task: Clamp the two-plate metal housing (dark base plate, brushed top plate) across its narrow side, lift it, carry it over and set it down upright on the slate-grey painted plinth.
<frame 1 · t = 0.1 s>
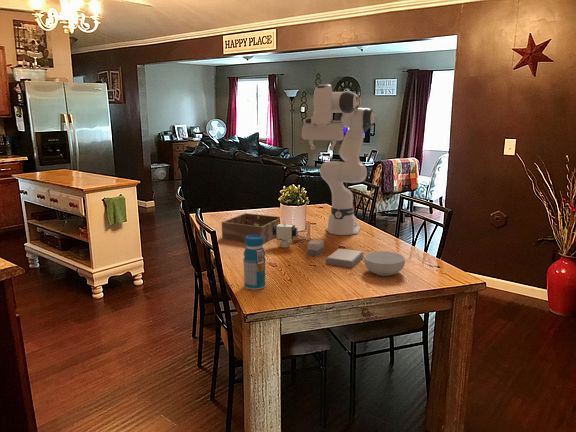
hand: (322, 149, 224), 48 cm above the table, fingers open, 8 cm apart
housing: (315, 253, 224), on the table
pneumatic valve: (285, 246, 236), on the table
plinth: (344, 260, 214), on the table
beverage bottle: (254, 286, 184), on the table
plant: (254, 237, 255), resting in planter crate
cereal bowl: (383, 273, 199), on the table
planter crate: (253, 235, 255), on the table
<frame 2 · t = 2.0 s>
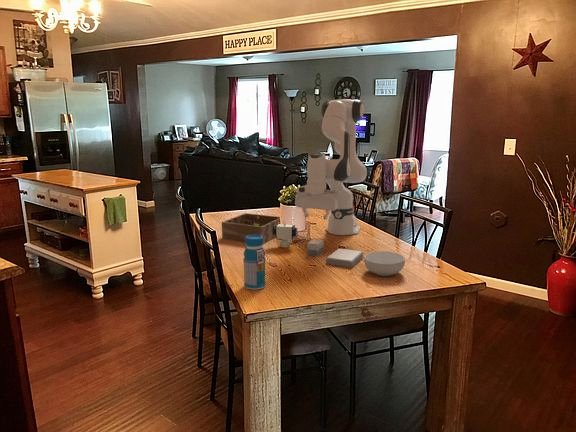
hand: (315, 218, 220), 17 cm above the table, fingers open, 8 cm apart
nothing on the table moved.
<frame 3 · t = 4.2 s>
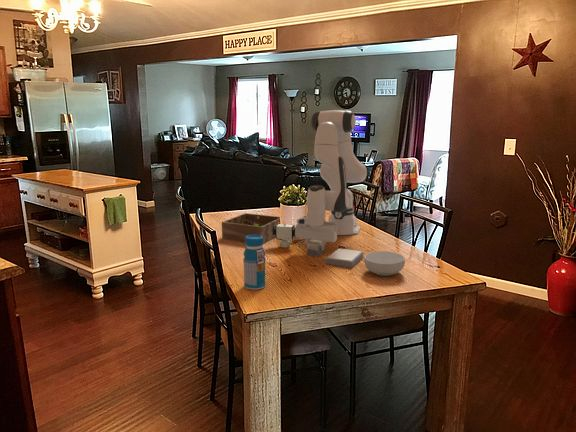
hand: (315, 248, 224), 2 cm above the table, fingers closed on housing, 5 cm apart
housing: (315, 253, 224), on the table, touching gripper
plant: (253, 237, 255), resting in planter crate
everything else where it was.
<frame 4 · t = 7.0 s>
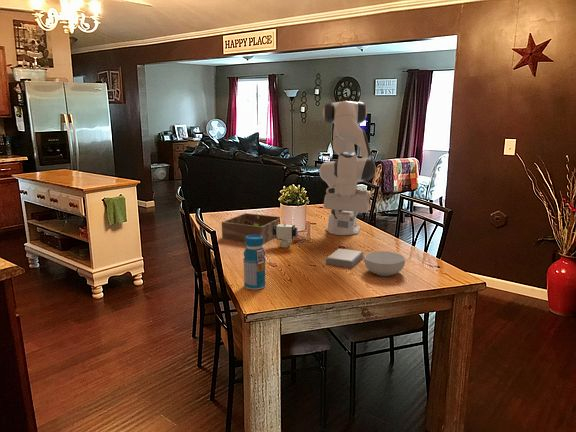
hand: (345, 220, 210), 19 cm above the table, fingers closed on housing, 5 cm apart
housing: (345, 225, 210), point 16 cm above the table, touching gripper
plant: (253, 237, 255), resting in planter crate
everything else where it was.
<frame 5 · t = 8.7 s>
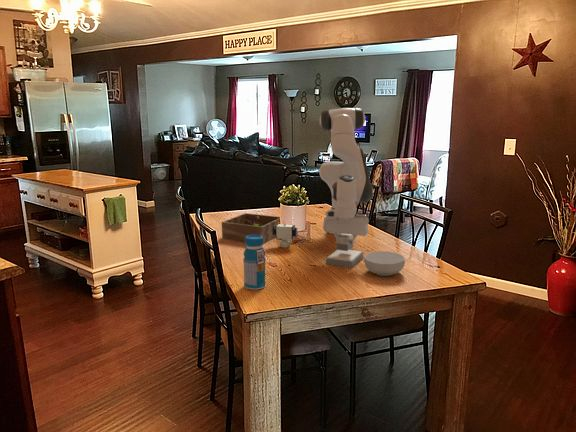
hand: (345, 242, 212), 8 cm above the table, fingers closed on housing, 5 cm apart
housing: (345, 248, 213), point 6 cm above the table, touching gripper
everything else where it was.
when the fingers open (7 cm above the table, at t = 9.9 s): housing drops 1 cm, resting on plinth.
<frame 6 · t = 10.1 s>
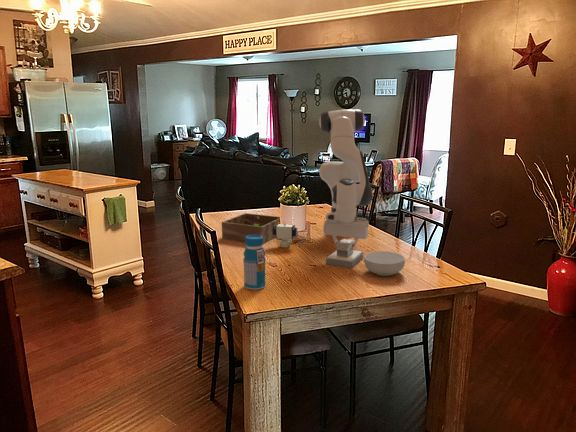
hand: (345, 246, 213), 7 cm above the table, fingers open, 7 cm apart
housing: (345, 254, 213), point 3 cm above the table, touching plinth
everything else where it was.
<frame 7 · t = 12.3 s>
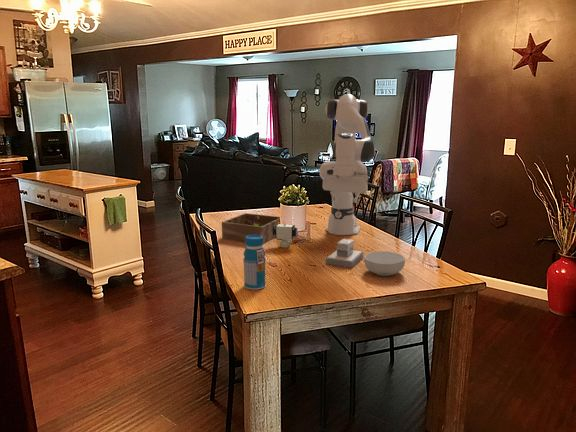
hand: (344, 201, 211), 27 cm above the table, fingers open, 8 cm apart
nothing on the table moved.
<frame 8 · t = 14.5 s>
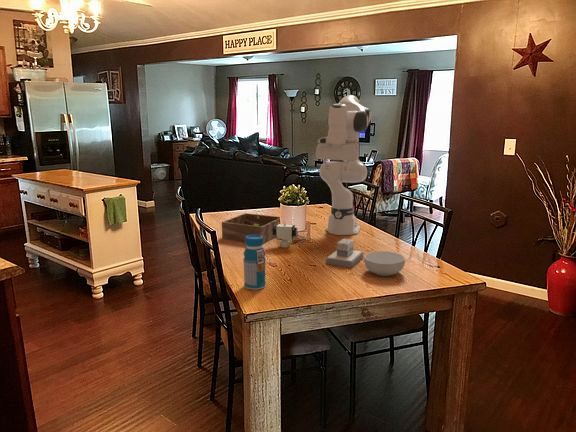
hand: (336, 169, 222), 39 cm above the table, fingers open, 8 cm apart
nothing on the table moved.
at the end: housing inside the target area on the plinth (0.0 cm from its centre), point 3.0 cm above the plinth's base; housing tilted 0°; the gripper is holding nothing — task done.
